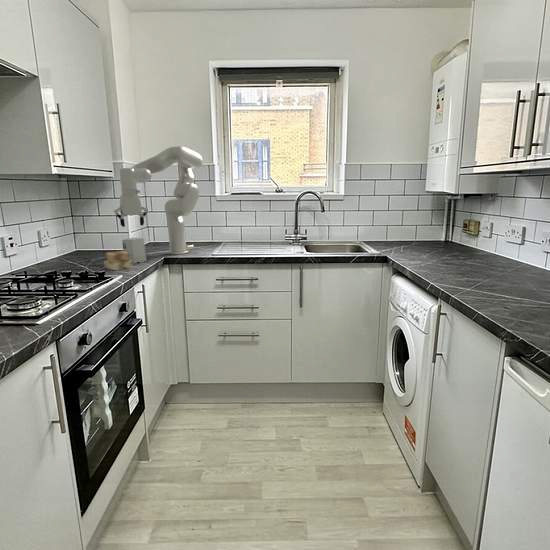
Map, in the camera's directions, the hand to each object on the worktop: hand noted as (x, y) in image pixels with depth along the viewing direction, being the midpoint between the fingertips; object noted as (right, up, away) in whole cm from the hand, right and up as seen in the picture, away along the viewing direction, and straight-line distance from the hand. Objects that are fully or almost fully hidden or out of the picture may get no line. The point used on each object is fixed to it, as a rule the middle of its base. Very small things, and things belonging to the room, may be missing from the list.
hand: (132, 225), depth 204 cm
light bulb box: (-5, -16, +18) cm, 24 cm away
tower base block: (-4, -23, -9) cm, 25 cm away
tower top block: (-4, -19, -10) cm, 22 cm away
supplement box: (+1, -19, +5) cm, 20 cm away
